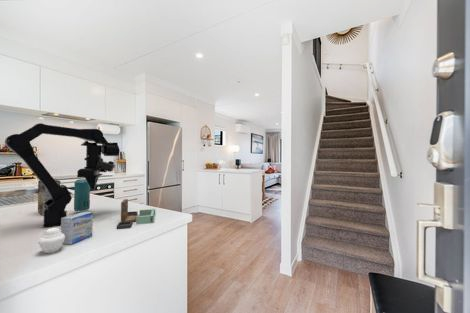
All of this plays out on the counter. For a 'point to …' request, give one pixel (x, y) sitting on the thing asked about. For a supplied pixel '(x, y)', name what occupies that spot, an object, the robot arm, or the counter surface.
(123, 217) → the bookend
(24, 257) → the counter surface
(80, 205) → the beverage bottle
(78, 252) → the counter surface
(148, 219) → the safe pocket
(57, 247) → the white lidded jar
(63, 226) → the medicine box
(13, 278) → the counter surface
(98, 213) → the counter surface
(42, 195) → the coffee box
